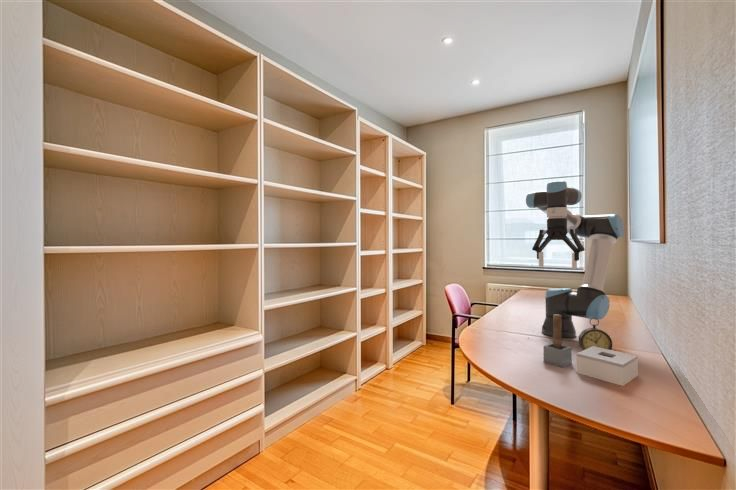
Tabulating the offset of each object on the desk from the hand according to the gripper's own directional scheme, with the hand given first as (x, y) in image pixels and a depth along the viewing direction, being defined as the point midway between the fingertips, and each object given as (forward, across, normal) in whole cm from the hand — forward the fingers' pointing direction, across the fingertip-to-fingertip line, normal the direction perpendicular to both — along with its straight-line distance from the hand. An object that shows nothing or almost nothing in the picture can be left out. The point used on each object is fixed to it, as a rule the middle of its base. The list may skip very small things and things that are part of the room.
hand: (557, 267), depth 146 cm
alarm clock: (+36, +13, +3) cm, 39 cm away
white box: (+36, +22, -13) cm, 44 cm away
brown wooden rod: (+35, +6, -14) cm, 38 cm away
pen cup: (+36, +6, -14) cm, 39 cm away
